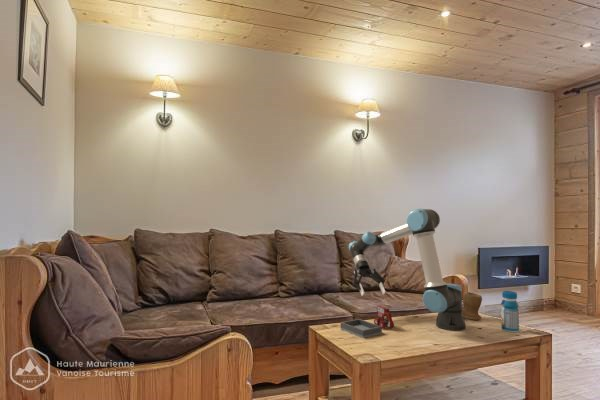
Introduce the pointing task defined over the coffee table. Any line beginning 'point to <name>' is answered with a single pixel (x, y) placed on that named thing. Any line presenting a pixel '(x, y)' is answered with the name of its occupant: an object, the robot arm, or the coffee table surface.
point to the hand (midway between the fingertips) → (373, 293)
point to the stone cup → (471, 305)
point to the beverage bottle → (510, 312)
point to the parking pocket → (361, 328)
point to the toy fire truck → (383, 318)
